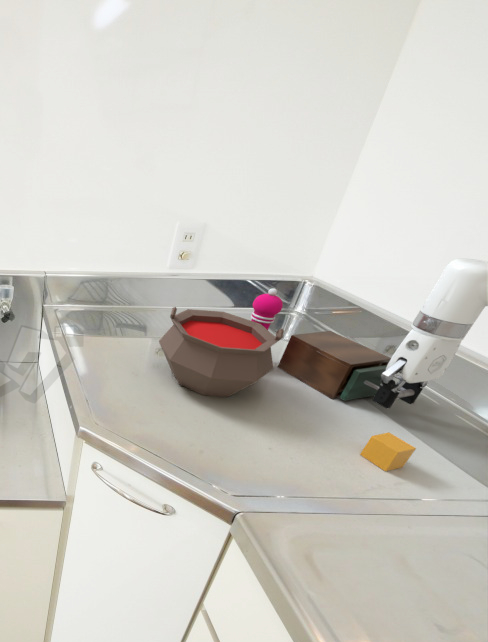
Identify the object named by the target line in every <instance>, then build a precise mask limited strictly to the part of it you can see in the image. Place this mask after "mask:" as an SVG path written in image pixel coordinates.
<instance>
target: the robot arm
mask: <svg viewBox="0 0 488 642" xmlns="http://www.w3.org/2000/svg"><path fill="white" fill-rule="evenodd" d="M486 307H488V261H486V260H482V259H473V258H456V259H453V260H451V261H450V262H448V264H447V265H446V266H445V268H444V269H443V271H442V272H441V274H440V276H439V278H438V280H437V281H436V282H435V285H434V286H433V288H432V290H431V291H430V293H429V295H428V296H427V297H426V299H425V301H424V303H423V304H422V306H421V308H420V310H419V311H418V313H417V315H416V316H415V318H414V320H413V321H412V323H411V325H410V327H411V328H412V329H411V330H410V331H408V333H407V335H406V336H405V337H404V338H403V340H402V341H401V343H400V344H399V346H398V347H397V349H396V350H395V351H394V353H393V355H392V356H391V357H390V358H391V359H390V361H389V363H388V365H387V367H386V371H385V372H383V373H382V374H381V378H382V380H381V383H380V385H381V386H380V387H379V389H378V391H377V392H376V394H375V395H374V396H372V397H373V398H372V402H374V403H376V404H378V405H380V406H381V407H383V408H385V409H391V407H392V405H394V403H395V401H396V399H399V400H401V401H403V402H404V403H406V404H407V405H408V404H409V405H412V404H413V405H414V403H415V402H416V400H417V399H418V397H419V396H420V394H421V393H422V391H423V390H424V388H425V387H426V386H428V382H429V381H434V380H438V379H440V378H442V377H443V375H444V374H445V372H446V371H447V369H448V368H449V365H450V364H451V362H452V360H454V359H453V358H454V357H455V356H456V353H457V352H458V349H459V347H460V345H461V343H462V341H463V340H464V339H465V337H466V336H467V335H468V333H469V332H470V330H471V328H472V327H473V326H474V324H475V322H476V321H477V320H478V318H479V317H480V315H481V314H482V312H483V311H484V309H485V308H486ZM398 373H399V374H401V375H402V376H400V375H398ZM394 379H397V380H398V382H397V383H396V381H395V380H394ZM401 387H403V388H405V389H407V390H408V389H412V390H413V391H414V392H415V393H414V395H413V396H408V397H402V398H397V396H398V395H399V392H397V391H400V390H399V389H400V388H401Z"/></svg>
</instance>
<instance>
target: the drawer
mask: <svg viewBox="0 0 488 642" xmlns="http://www.w3.org/2000/svg"><path fill="white" fill-rule="evenodd" d="M381 365H382V363H378V364H371V365H364V366H357V367H352V368H351V370H350V372H349V374H348V375H347V377H346V379H345V381H344V383H343V385H342V386H341V388H340V390H339V392H342V394H341V396H340V398H339V399H341V400H343V401H349V400H357V399H361V398H362V399H363V398H367V397H368V398H369V397H374V396H375V394H376V392H377V391H378V389H379V387H380V386H381V385H380V383H381V380H382V378H381V374H382V373H383V372H385V371H386V367H387V365H384V366H381ZM399 390H400V391H397V392H399V395H398V396H397V398H396V399H399V398H402V397H408V396H413V395H414V393H415V392H414V391H413V390H412V389H408V390H407V389H405V388H403V387H401V388H400V389H399ZM339 392H338V393H339Z"/></svg>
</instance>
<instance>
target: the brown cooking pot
mask: <svg viewBox="0 0 488 642" xmlns="http://www.w3.org/2000/svg"><path fill="white" fill-rule="evenodd" d="M177 310H178V308H177V307H176V306H174V307H172V309H171V312H170V315H169V317H170V320H171V322H172V325H171V327H170V328H169V329H168V330H167V331H166V332H165V333H164V335H163V336H162V337H160V339H159V340H158V343H159V346H160V348H161V350H162V352H163V354H164V358H165V359H166V361H167V363H168V366H169V368H170V371H171V372H172V374H173V376H174V378H175V379H176V381H177V383H178V384H179V386H181V387H184V388H186V389H189V391H190V390H191V391H192V392H194V393H197V394H200V396H201V395H202V396H209V397H221V398H228V397H230V396H232V395H234V394H236V393H238V392H240V391H242V390H244V389H246V388H247V387H249V386H251V385H254V384H256V383H257V382H258V381H260V380H261V379H262V378H263V377H265V376H266V375H267V374H268V373H269V372H271V371H272V370H273V369H274V362H273V353H272V346H275V344H277V343H278V342H279V341H281V340H282V339H283V338H284V333H285V330H284V328H279V329H278V330H277V331H276V333H275V335H274V333H272V332H270V330H269V329H268V330H267V329H266V328H265V327H264V326H262V325H261V324H259V323H256V322H253V321H251V319H247V318H244V317H241V316H238V315H236V314H233V313H228V312H225V311H219V310H218V311H217V310H205V309H191V308H187V309H185V310H183V311H180V312H178V313H177Z"/></svg>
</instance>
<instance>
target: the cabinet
mask: <svg viewBox="0 0 488 642" xmlns="http://www.w3.org/2000/svg"><path fill="white" fill-rule="evenodd" d="M391 358H392V357H389V356H388V355H385V354H383V353H381V352H378V351H376V350H374V349H372V348H369V347H367V346H366V345H363V344H360V343H358V342H356V341H354V340H352V339H350V338H348V337H345V336H343V335H340V334H338V333H336V332H334V331H332V330H324V331H316V332H314V331H313V332H306V333H297V334H291V335H290V338H289V340H288V342H287V344H286V346H285V349H284V351H283V353H282V356H281V358H280V360H279V362H278V364H277V368H278V369H280V370H282V371H284V372H285V373H287V374H289V375H290V376H292V377H293V378H295V379H296V380H299V381H300V382H302V383H304V384H305V385H307V386H309V387H311V388H312V389H314V390H315V391H317V392H319V393H321V394H323V395H324V396H325V397H328V398H329V399H331V400H336V399H341V398H340V396H341V394H342V392H339V390H340V388H341V386H342V385H343V383H344V381H345V379H346V377H347V375H348V374H349V372H350V370H351V368H352V367H357V366H364V365H371V364H378V363H382V365H381V366H384V365H388V363H389V361H390V359H391ZM338 392H339V393H338Z"/></svg>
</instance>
